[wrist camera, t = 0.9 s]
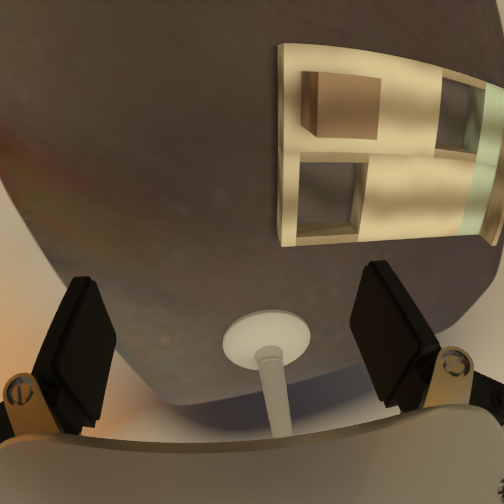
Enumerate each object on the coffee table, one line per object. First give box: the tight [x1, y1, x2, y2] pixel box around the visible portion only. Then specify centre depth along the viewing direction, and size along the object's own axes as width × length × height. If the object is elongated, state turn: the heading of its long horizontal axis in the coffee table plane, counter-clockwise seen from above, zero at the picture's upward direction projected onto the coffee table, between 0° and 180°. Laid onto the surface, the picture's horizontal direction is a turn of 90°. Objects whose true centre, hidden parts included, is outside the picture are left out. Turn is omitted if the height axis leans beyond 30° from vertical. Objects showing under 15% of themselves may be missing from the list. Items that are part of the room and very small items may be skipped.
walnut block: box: [301, 71, 381, 140], centre depth 23 cm, size 5×5×5 cm
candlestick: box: [223, 309, 310, 438], centre depth 32 cm, size 13×13×30 cm
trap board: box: [277, 43, 504, 247], centre depth 28 cm, size 20×29×6 cm
